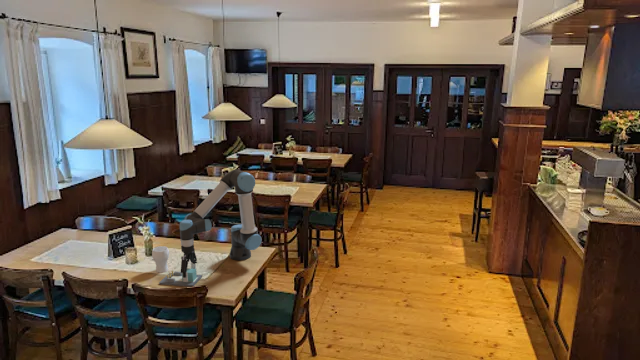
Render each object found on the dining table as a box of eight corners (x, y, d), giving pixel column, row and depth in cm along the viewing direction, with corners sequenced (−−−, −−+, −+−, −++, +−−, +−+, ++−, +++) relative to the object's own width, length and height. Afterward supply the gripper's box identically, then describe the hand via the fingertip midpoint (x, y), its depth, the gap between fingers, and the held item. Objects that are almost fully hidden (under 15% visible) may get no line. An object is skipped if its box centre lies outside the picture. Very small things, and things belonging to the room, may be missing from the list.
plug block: (196, 277, 282) (196, 269, 281) (193, 281, 277) (192, 272, 275) (186, 276, 283) (185, 268, 282) (182, 280, 278) (181, 272, 276)
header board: (202, 276, 287) (201, 269, 285) (192, 287, 273) (192, 279, 272) (169, 274, 290) (169, 267, 288) (159, 284, 276) (158, 277, 275)
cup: (156, 266, 300) (154, 246, 297) (172, 266, 301) (170, 245, 297) (151, 273, 290) (149, 252, 286) (168, 273, 291) (166, 252, 287)
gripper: (189, 237, 286) (192, 268, 292) (172, 252, 264) (175, 285, 269) (200, 238, 285) (203, 269, 291) (184, 252, 263) (187, 286, 268)
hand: (189, 277), depth 280 cm, fingers open, 11 cm apart
